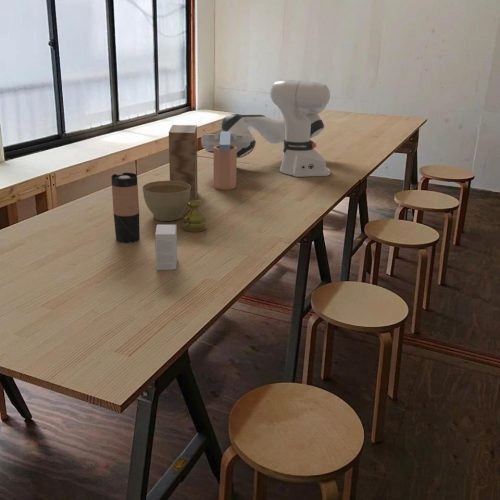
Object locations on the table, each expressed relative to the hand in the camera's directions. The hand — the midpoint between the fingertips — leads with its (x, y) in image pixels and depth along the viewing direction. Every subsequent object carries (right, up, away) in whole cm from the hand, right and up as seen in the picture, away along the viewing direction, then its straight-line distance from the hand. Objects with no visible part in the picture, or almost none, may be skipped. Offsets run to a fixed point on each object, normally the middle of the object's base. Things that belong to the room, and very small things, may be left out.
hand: (225, 134), depth 238 cm
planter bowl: (-18, -36, -37) cm, 54 cm away
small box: (-13, -51, -74) cm, 91 cm away
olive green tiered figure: (-8, -40, -47) cm, 62 cm away
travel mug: (-28, -43, -57) cm, 77 cm away
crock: (0, -21, -1) cm, 21 cm away
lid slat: (0, -5, -8) cm, 9 cm away
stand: (-15, -27, -17) cm, 35 cm away
